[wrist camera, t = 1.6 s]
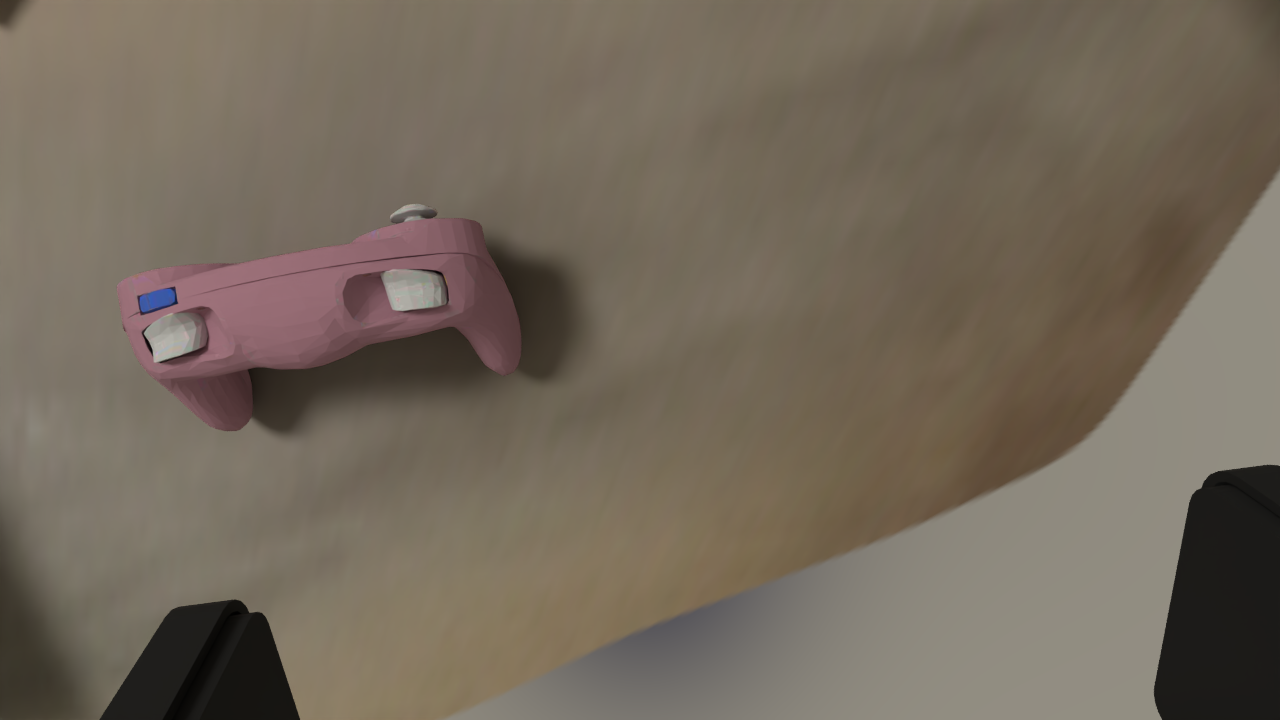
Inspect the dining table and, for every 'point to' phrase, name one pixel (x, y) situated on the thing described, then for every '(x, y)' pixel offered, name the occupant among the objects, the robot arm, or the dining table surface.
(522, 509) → the dining table surface
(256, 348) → the video game controller
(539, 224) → the dining table surface
